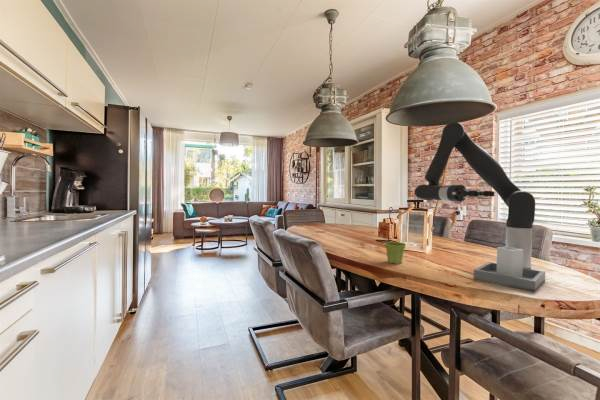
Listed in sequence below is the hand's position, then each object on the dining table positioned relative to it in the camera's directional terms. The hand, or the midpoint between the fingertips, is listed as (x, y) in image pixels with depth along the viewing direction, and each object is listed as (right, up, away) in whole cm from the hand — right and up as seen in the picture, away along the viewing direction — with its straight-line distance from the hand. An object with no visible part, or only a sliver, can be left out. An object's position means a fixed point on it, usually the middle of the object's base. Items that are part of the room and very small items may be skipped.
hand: (486, 193), depth 114 cm
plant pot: (-31, -31, +16) cm, 47 cm away
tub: (+3, -32, -8) cm, 33 cm away
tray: (+3, -32, -8) cm, 33 cm away
